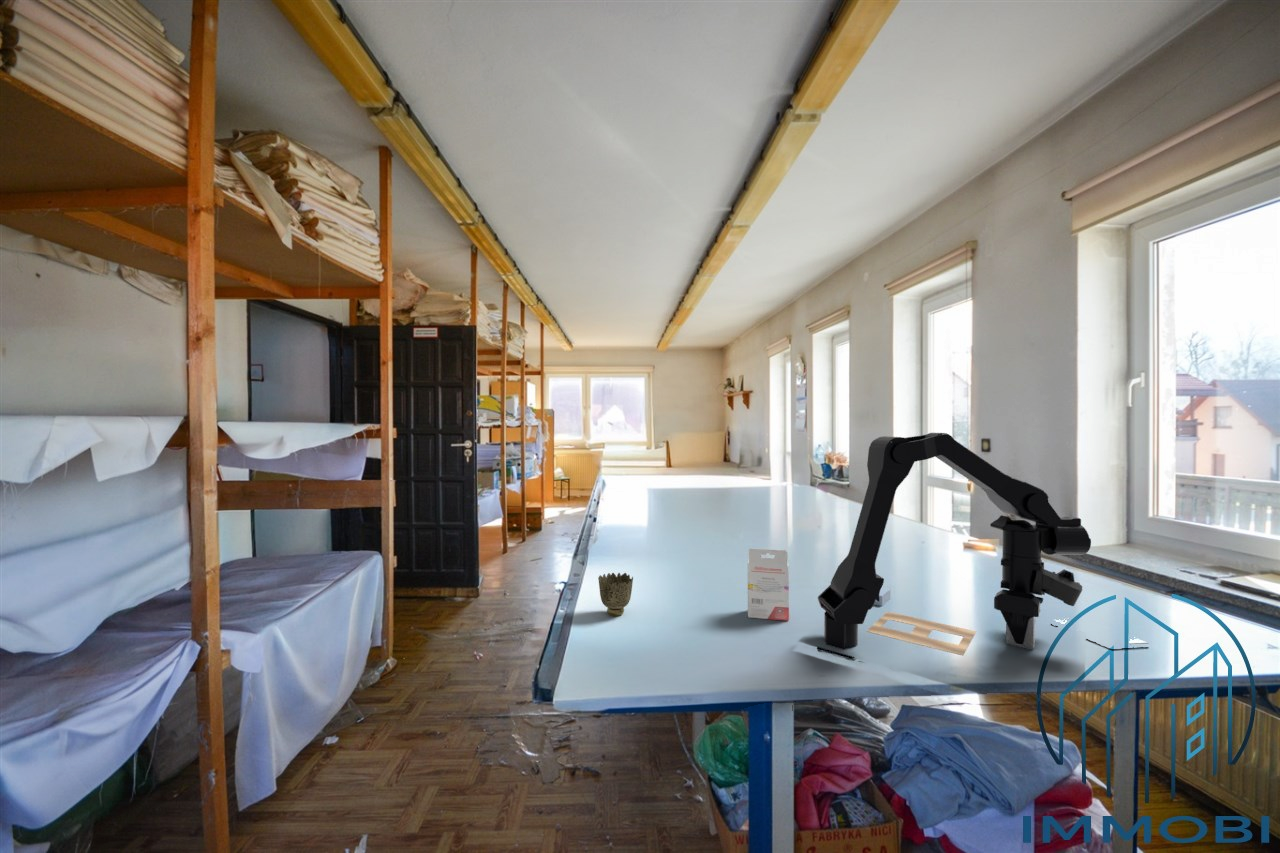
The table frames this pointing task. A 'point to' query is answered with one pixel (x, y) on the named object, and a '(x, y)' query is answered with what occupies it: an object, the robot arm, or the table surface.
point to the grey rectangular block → (1029, 636)
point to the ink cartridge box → (768, 585)
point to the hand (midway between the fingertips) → (1020, 639)
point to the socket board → (924, 633)
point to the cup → (615, 592)
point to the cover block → (883, 597)
